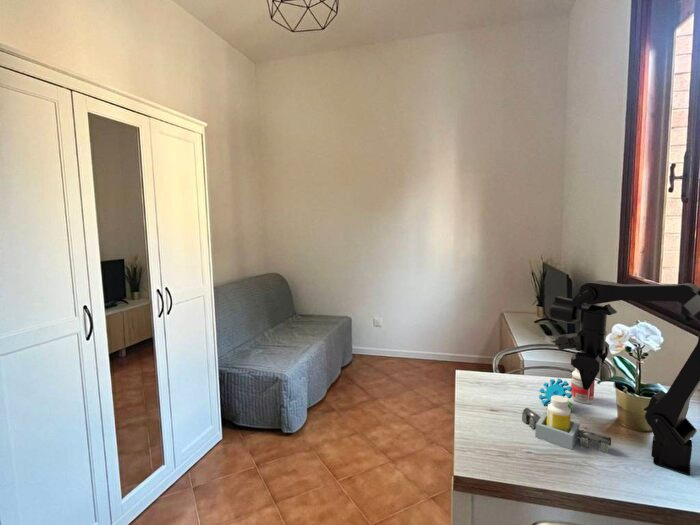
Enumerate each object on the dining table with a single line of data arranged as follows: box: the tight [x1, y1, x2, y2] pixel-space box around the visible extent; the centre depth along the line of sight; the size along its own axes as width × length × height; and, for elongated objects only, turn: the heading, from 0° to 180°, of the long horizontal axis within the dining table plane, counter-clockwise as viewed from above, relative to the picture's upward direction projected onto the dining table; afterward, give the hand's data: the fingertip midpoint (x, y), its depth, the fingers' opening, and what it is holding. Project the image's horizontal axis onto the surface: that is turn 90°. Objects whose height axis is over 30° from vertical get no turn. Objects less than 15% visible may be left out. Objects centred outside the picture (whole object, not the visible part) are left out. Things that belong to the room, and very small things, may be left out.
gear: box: [538, 378, 575, 412], centre depth 116 cm, size 11×6×10 cm
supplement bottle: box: [546, 395, 572, 433], centre depth 99 cm, size 5×5×10 cm
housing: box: [534, 411, 581, 450], centre depth 99 cm, size 8×8×4 cm
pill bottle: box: [570, 367, 596, 404], centre depth 119 cm, size 6×6×11 cm
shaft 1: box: [521, 407, 541, 430], centre depth 105 cm, size 6×3×4 cm, turn 14°
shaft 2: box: [577, 428, 612, 454], centre depth 95 cm, size 7×3×4 cm, turn 59°
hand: (588, 383), depth 102 cm, fingers open, 9 cm apart
